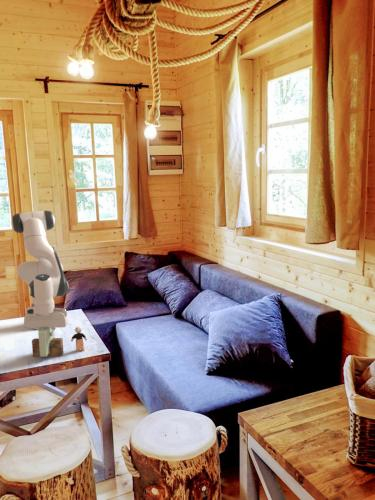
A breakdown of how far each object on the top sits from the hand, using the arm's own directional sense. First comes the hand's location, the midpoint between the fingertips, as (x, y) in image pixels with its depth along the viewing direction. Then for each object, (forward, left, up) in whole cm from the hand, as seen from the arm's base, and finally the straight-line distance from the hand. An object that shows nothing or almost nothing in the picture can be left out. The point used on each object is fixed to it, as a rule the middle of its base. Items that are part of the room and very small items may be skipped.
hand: (46, 335), depth 208 cm
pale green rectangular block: (0, 0, -8) cm, 8 cm away
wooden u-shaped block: (0, 0, -10) cm, 10 cm away
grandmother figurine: (-5, +14, -10) cm, 18 cm away
